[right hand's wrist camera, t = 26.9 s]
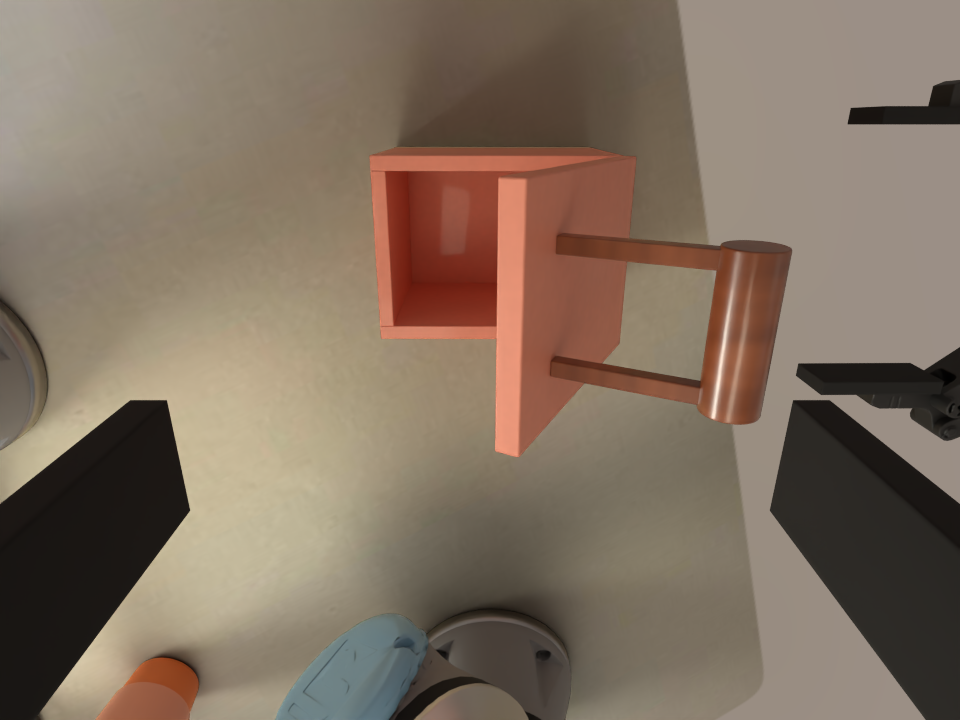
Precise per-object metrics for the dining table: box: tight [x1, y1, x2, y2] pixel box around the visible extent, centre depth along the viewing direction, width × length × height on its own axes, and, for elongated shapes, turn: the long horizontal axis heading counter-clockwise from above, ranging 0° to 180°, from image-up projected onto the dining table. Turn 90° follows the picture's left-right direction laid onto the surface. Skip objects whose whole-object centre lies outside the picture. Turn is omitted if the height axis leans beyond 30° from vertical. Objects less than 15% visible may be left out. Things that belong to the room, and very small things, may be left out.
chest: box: [370, 147, 623, 339], centre depth 38 cm, size 13×10×11 cm
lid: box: [495, 156, 792, 457], centre depth 25 cm, size 14×10×9 cm
